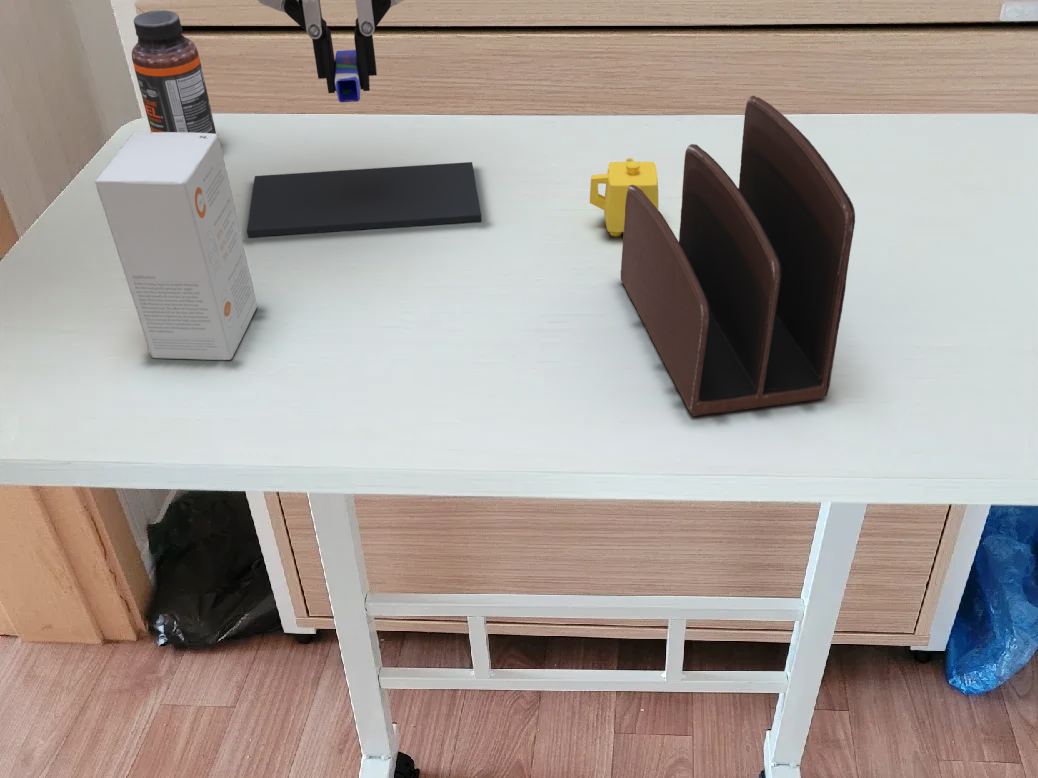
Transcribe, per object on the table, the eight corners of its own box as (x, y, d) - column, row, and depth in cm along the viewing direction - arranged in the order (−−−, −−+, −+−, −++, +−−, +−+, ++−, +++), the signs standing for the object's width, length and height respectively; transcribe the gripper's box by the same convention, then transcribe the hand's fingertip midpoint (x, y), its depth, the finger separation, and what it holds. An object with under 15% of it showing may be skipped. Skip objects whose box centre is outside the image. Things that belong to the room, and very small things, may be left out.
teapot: (588, 204, 98) (589, 143, 94) (654, 204, 98) (658, 142, 94) (589, 247, 92) (590, 184, 89) (658, 247, 92) (663, 183, 88)
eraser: (336, 104, 90) (333, 77, 89) (338, 76, 94) (334, 50, 92) (361, 102, 90) (357, 75, 89) (362, 75, 94) (358, 48, 93)
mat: (248, 237, 95) (246, 230, 94) (255, 182, 102) (254, 175, 102) (481, 221, 96) (480, 214, 95) (472, 168, 103) (472, 161, 103)
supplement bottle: (145, 149, 107) (109, 16, 99) (199, 131, 110) (168, 0, 101) (176, 167, 104) (141, 32, 96) (230, 149, 107) (201, 16, 98)
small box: (181, 304, 87) (132, 129, 78) (259, 306, 87) (220, 131, 77) (148, 359, 82) (91, 179, 72) (232, 362, 82) (186, 181, 72)
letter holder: (738, 267, 90) (761, 76, 79) (828, 401, 77) (870, 195, 66) (618, 281, 89) (625, 89, 78) (690, 420, 76) (710, 213, 65)
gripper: (190, -182, 75) (249, 109, 89) (425, -193, 76) (447, 97, 90) (201, -204, 80) (255, 75, 94) (421, -214, 81) (442, 64, 95)
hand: (349, 84), depth 92 cm, fingers closed on eraser, 2 cm apart
